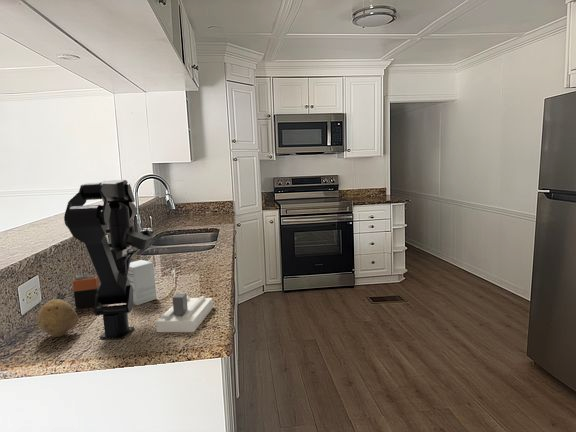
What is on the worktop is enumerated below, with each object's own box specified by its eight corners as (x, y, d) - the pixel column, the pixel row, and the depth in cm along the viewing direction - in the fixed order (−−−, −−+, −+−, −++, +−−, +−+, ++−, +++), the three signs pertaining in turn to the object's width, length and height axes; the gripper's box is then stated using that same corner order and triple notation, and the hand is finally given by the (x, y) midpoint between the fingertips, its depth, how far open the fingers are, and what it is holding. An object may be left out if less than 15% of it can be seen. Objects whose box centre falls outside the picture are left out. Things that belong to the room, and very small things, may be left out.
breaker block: (193, 332, 106) (192, 317, 106) (157, 332, 107) (155, 317, 107) (213, 307, 124) (212, 294, 123) (181, 307, 125) (180, 295, 124)
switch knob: (184, 315, 109) (182, 297, 109) (174, 315, 110) (172, 297, 109) (187, 311, 112) (186, 293, 112) (178, 311, 113) (176, 293, 112)
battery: (78, 304, 133) (74, 274, 131) (100, 301, 135) (97, 272, 133) (75, 309, 128) (71, 278, 127) (98, 305, 130) (95, 275, 129)
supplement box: (145, 295, 139) (141, 259, 137) (157, 299, 134) (153, 262, 132) (124, 301, 133) (120, 264, 131) (136, 305, 128) (132, 267, 127)
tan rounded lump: (32, 338, 107) (27, 302, 106) (66, 326, 114) (62, 292, 113) (50, 345, 102) (45, 307, 101) (84, 332, 109) (80, 297, 108)
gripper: (130, 228, 106) (136, 286, 108) (159, 218, 124) (164, 268, 126) (90, 230, 107) (96, 287, 109) (125, 219, 125) (130, 268, 127)
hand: (124, 277), depth 118 cm, fingers closed
